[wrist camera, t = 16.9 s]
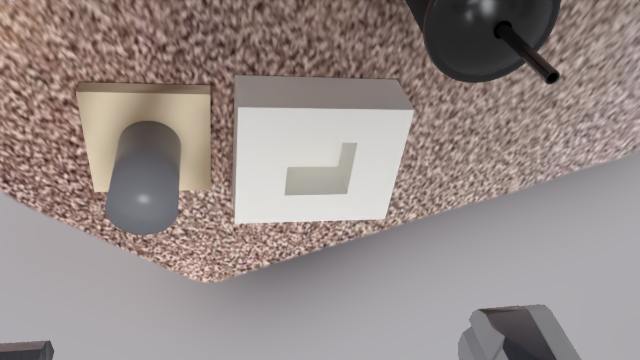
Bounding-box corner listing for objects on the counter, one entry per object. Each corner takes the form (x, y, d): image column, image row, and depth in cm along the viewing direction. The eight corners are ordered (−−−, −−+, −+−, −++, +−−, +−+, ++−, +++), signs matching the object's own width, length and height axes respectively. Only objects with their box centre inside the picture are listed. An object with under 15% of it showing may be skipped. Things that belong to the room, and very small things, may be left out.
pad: (209, 85, 43) (210, 94, 42) (210, 179, 49) (211, 189, 48) (79, 82, 41) (75, 91, 40) (97, 181, 47) (94, 191, 46)
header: (397, 79, 46) (414, 110, 42) (371, 185, 53) (384, 219, 50) (234, 75, 43) (238, 107, 39) (232, 187, 50) (234, 223, 47)
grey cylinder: (179, 120, 43) (176, 183, 37) (182, 168, 46) (179, 233, 40) (115, 120, 42) (100, 184, 36) (122, 169, 45) (109, 235, 39)
